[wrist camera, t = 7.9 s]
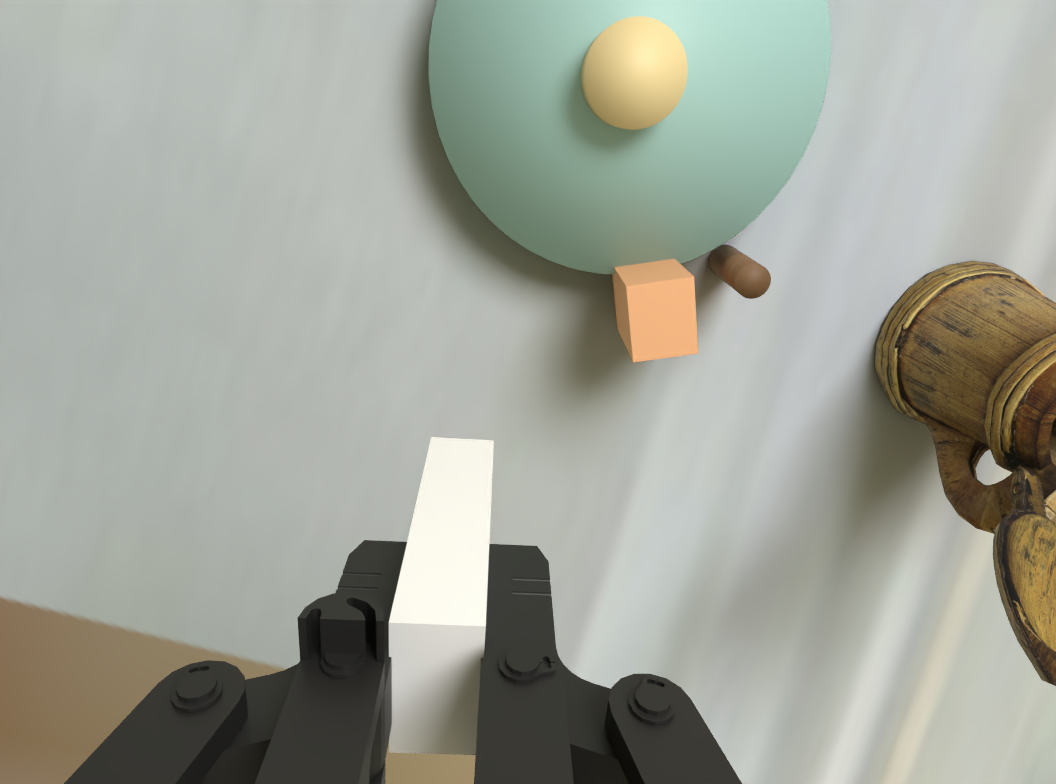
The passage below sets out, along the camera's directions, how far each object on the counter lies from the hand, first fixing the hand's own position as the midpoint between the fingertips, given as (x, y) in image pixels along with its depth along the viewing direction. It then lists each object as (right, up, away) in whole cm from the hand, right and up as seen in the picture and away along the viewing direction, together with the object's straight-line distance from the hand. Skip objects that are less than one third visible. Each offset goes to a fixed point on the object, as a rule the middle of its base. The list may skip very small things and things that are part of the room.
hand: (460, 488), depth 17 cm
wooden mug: (+24, +3, +23) cm, 33 cm away
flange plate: (+6, +16, +16) cm, 23 cm away
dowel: (+12, +9, +20) cm, 25 cm away
